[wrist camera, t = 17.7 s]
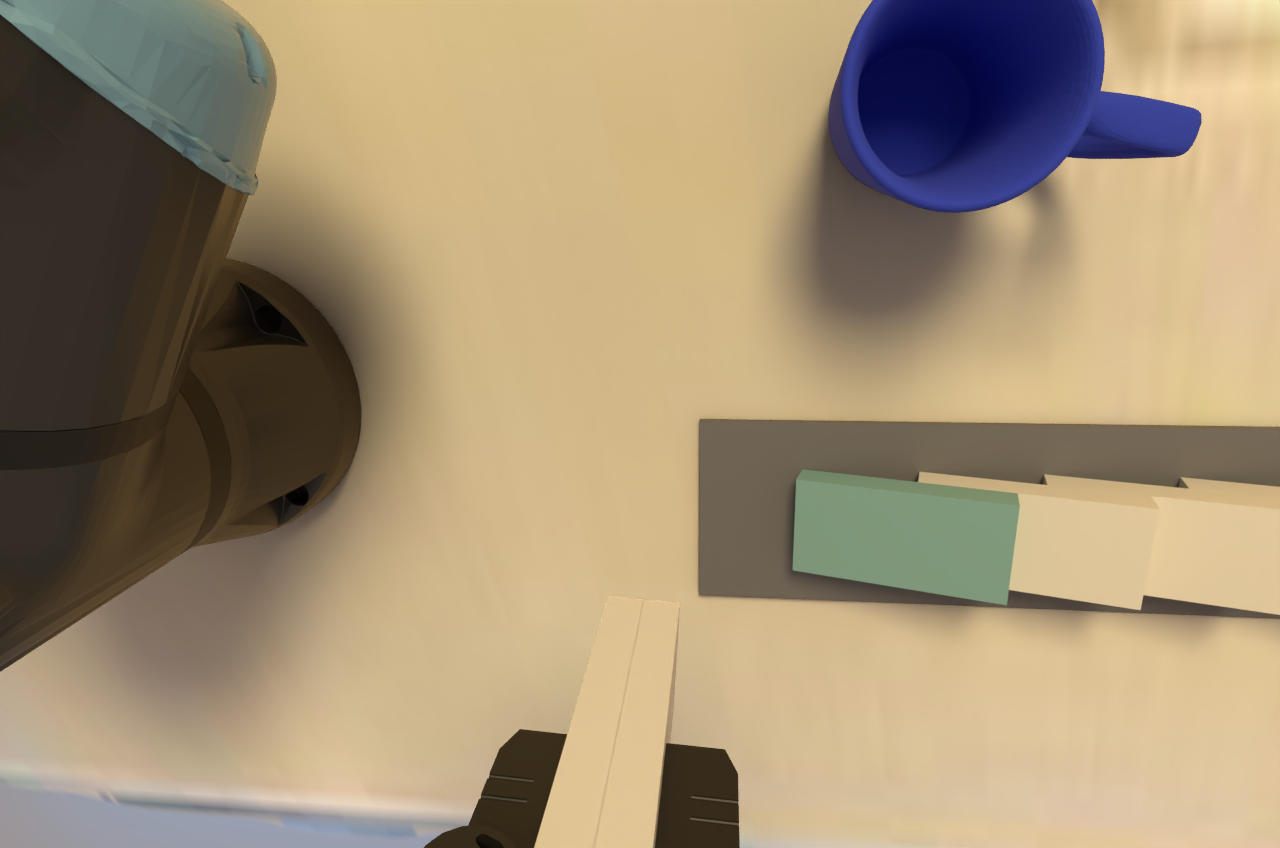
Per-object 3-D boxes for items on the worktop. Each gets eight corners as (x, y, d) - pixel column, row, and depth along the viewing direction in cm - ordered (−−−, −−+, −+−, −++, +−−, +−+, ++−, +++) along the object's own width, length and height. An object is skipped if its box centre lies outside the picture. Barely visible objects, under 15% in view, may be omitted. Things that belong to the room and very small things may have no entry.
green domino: (792, 570, 39) (1006, 605, 35) (796, 479, 37) (1019, 505, 33) (798, 557, 40) (1005, 589, 36) (802, 469, 39) (1017, 493, 35)
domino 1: (909, 574, 38) (1140, 610, 34) (917, 482, 36) (1159, 509, 33) (911, 560, 39) (1133, 593, 36) (919, 471, 38) (1151, 496, 34)
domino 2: (1034, 579, 37) (1283, 615, 34) (1047, 485, 36) (1309, 512, 32) (1031, 565, 39) (1269, 598, 35) (1044, 474, 37) (1293, 499, 34)
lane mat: (699, 591, 42) (699, 594, 41) (699, 419, 39) (699, 421, 38) (1374, 618, 38) (1380, 622, 37) (1429, 428, 35) (1437, 431, 35)
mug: (1046, 244, 35) (1166, 260, 25) (790, 189, 35) (812, 184, 26) (1116, 52, 32) (1279, -12, 23) (839, -4, 33) (883, -88, 23)
